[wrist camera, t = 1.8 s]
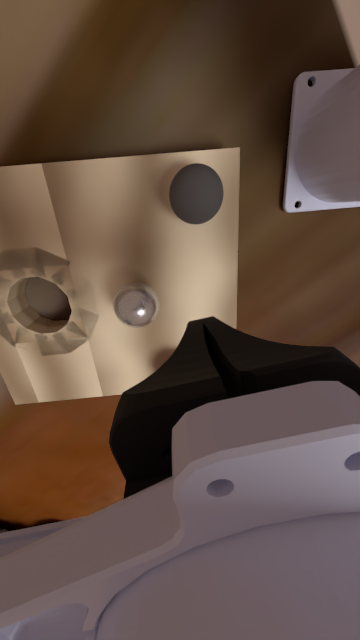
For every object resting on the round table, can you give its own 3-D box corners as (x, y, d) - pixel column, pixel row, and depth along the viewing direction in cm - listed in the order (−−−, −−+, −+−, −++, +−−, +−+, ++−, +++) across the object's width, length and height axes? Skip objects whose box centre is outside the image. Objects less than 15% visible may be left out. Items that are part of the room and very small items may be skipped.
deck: (229, 156, 17) (239, 147, 15) (228, 367, 24) (235, 383, 22) (-57, 179, 17) (-92, 173, 14) (29, 386, 24) (15, 404, 22)
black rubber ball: (217, 166, 15) (229, 155, 12) (218, 221, 16) (229, 223, 13) (166, 170, 15) (166, 160, 12) (171, 225, 16) (172, 228, 13)
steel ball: (157, 275, 18) (155, 287, 15) (162, 315, 19) (161, 333, 16) (114, 278, 18) (103, 292, 15) (121, 318, 19) (113, 338, 16)
